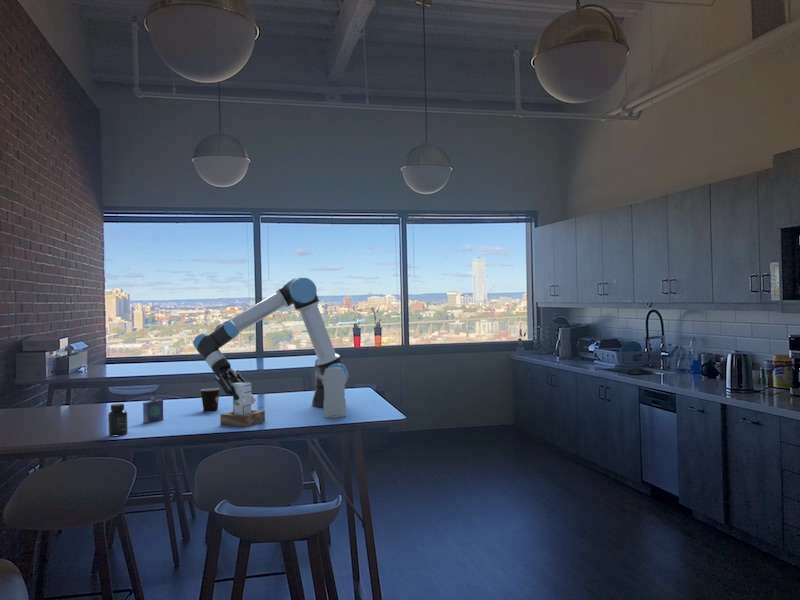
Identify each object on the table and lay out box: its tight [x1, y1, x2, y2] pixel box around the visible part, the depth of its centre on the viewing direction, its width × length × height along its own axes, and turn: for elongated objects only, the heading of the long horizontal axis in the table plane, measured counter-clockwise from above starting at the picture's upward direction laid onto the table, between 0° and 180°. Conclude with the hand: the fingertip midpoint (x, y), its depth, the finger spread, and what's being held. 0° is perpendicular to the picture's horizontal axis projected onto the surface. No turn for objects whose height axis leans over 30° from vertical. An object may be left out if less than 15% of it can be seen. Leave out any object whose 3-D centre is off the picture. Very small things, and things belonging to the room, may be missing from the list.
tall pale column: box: [322, 367, 347, 419], centre depth 277 cm, size 11×4×22 cm, turn 102°
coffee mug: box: [200, 387, 220, 412], centre depth 300 cm, size 12×9×10 cm
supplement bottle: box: [107, 403, 129, 436], centre depth 250 cm, size 7×7×12 cm
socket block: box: [219, 409, 266, 428], centre depth 267 cm, size 13×13×4 cm
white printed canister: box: [232, 382, 252, 415], centre depth 267 cm, size 6×6×14 cm
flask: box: [142, 396, 164, 424], centre depth 275 cm, size 9×3×11 cm, turn 142°
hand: (249, 403), depth 266 cm, fingers closed on white printed canister, 6 cm apart
